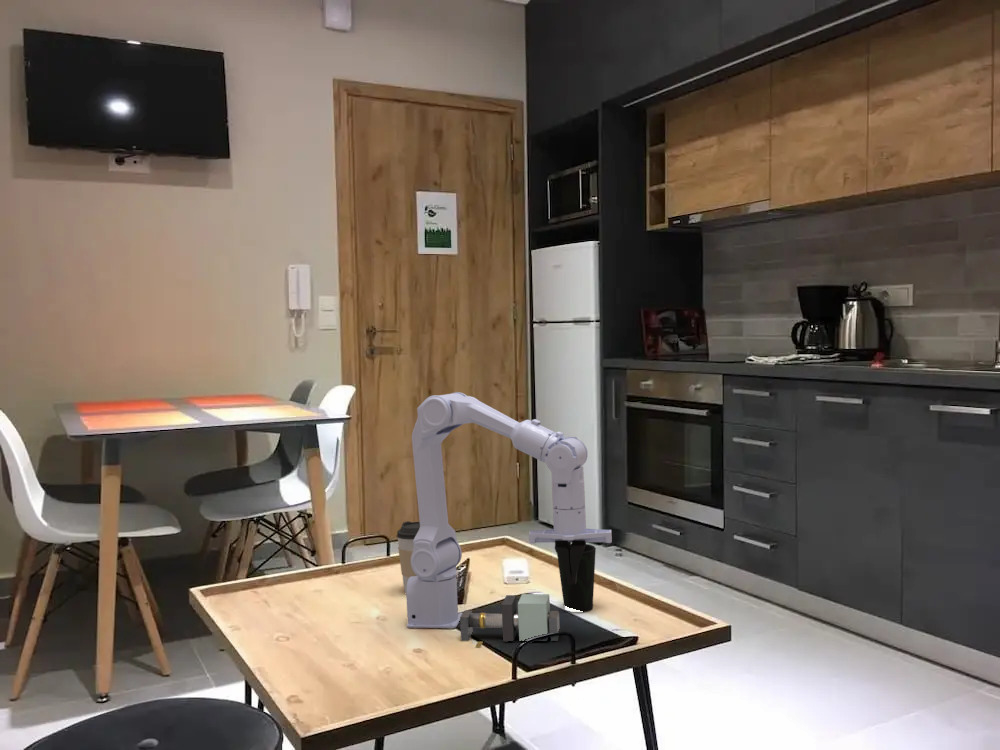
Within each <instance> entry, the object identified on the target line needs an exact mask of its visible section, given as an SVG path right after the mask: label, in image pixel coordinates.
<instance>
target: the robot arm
mask: <svg viewBox="0 0 1000 750" xmlns="http://www.w3.org/2000/svg"><path fill="white" fill-rule="evenodd" d="M416 410H417V419H416V422H415V424H414V426H413V430H412V433H411V444H412V445H411V446H412V455H413V457H412V458H413V465H414V467H413V468H414V475H415V486H416V497H417V508H418V520H419V521H418V522H420V529H419V531H418V533H417V534H416V536H415V538H414V540H413V553H412V556H411V567H412V570H413V571H414V573H415V574H416V575H417V576H411V577H410V578H409V579H408V582H407V590H406V594H405V597H406V613H407V615H406V617H407V618H406V619H407V624H406V628H409V629H410V628H413V629H421V628H422V629H423V628H425V629H428V628H430V629H446V628H447V629H456V628H457V626H458V625H459V624H460V622H459V621H460V617H461V615H462V613H463V612H459V607H458V605H459V604H458V603H459V602H458V588H457V587H458V586H457V584H458V583H457V566H458V565H459V563H460V562H461V561H462V555H463V553H462V551H463V550H462V548H461V545H460V544H459V542H458V539H457V534H456V533H457V532H456V530H455V528H453V527H452V526H451V525H450V524H449V516H448V515H449V514H448V505H447V495H446V493H447V492H446V484H445V473H444V462H443V450H442V443H443V441H444V440H445V439H446V438H447V437H448V436H449V435H450V433H452V431H455V429H458V428H459V427H462V426H463V425H464V424H466V425H467V424H476V425H478V426H481V427H483V428H484V429H487V430H488V431H489V430H490V431H491V432H494V433H496V434H499V435H502V436H504V437H506V438H508V439H510V440H511V443H512V445H513V447H514V448H515V449H516V450H518V451H520V452H522V453H524V454H526V455H528V456H530V457H533V458H535V460H538V461H540V462H542V463H545V464H546V467H547V468H548V470H549V471H550V472H551V490H552V491H551V494H552V498H551V499H552V517H553V518H552V519H553V520H552V521H553V522H552V523H553V528H550V529H548V528H547V529H538V530H534V529H533V530H530V531H529V532H528V544H529V545H530V544H531V545H532V544H536V543H537V544H538V543H539V544H540V543H541V544H542V543H547V544H548V543H554V550H555V553H556V555H557V554H558V556H559V558H560V560H561V562H562V565H563V567H564V570H565V573H566V577H567V582H568V584H576V581H577V570H578V566H579V562H580V559H581V556H582V554H583V551H584V549H585V545H586V544H587V543H604V544H611V543H612V541H613V540H612V539H613V537H612V535H613V534H612V529H599V528H598V529H596V528H587V520H586V518H587V517H586V500H585V499H586V495H585V494H586V493H585V477H584V474H585V473H584V465H585V463H586V462H587V459H588V449H587V447H586V445H585V443H584V442H583V441H582V440H580V439H579V438H578V437H577V436H572V435H571V436H568V437H565V436H564V433H563V432H562V431H556V432H555V431H553V430H552V429H549V428H547V427H545V426H543V425H541V423H542V421H540V420H538V419H536V418H534V419H531V420H530V419H525V420H523V421H521V422H519V421H517V420H515V419H514V418H511V417H510V416H508V415H506V414H505V413H502V412H500V411H499V410H498V409H495V408H493V407H491V406H489V405H488V404H486V403H484V402H482V401H480V400H479V399H477V398H476V397H474V396H471V395H467V394H465V393H463V392H459V391H455V392H451V393H446V394H440V395H437V394H436V395H435V394H434V395H430V396H428V397H427V398H426V399H424V400H423V402H422V403H420V405H419V406H418V407H417V409H416ZM571 562H572V567H571Z"/></svg>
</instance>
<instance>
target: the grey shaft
mask: <svg viewBox="0 0 1000 750" xmlns="http://www.w3.org/2000/svg"><path fill="white" fill-rule="evenodd" d="M559 611H560V610H550V614H547V620H548V628H549V633H552V632H558V631H559V629H561V627H560V612H559ZM461 613H462V615H461V617H460V622H459V626H460V641H464V642H465V641H466V642H467V641H470V639H471V637H472V636H471V634H472V632H473V633H474V629H473V628H479V629H485V628H490V629H491V628H494V629H495V628H498V629H499V628H502V629H503V626H502V613H486V612H480V613H473V611H472V610H471V609H470V610H467V609H466V610H463V612H461ZM513 623H514V628H518V629H519V621H518V613H517V614H513ZM472 635H473V634H472ZM482 645H483V641H477V642H476V645H475V647H474V648H481V647H482Z"/></svg>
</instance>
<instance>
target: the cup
mask: <svg viewBox="0 0 1000 750" xmlns="http://www.w3.org/2000/svg"><path fill="white" fill-rule="evenodd" d="M596 552H597V551H596V546H594V545H592V544H589V543H588V544H587V543H586V545H585V549H584V551H583V554H582V556H581V559H580V562H579V566H578V570H577V581H576V584H568V582H567V577H566V573H565V570H564V567H563V565H562V562H561V560H560V558H559V556H558V554H557V553H556V556H557V557H556V558H557V563H558V570H559V579H560V585H561V593H562V601H563V606H564V605H565V606H567V607H569V608H573V609H576V610H580V611H583V613H588V612H591V611H592V610H593V608H594V606H593V605H594V593H595V592H594V589H595V588H594V587H595V569H596ZM571 567H572V562H571Z"/></svg>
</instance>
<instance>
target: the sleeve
mask: <svg viewBox="0 0 1000 750" xmlns="http://www.w3.org/2000/svg"><path fill="white" fill-rule="evenodd" d="M550 605H551V604H550V594H549V593H548V594H547V593H544V594H543V593H539V594H538V593H537V594H535V593H532V594H531V593H523V594H521V596H520V597H519V600H518V602H517V614H518V621H519V628H518V637H519V638H518V639H519V641H521V640H522V641H524V640H525V639H528V638H531V637H534V636H538V635H542V634H547V633H549V628H548V620H547V614H550V613H551V606H550Z"/></svg>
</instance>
